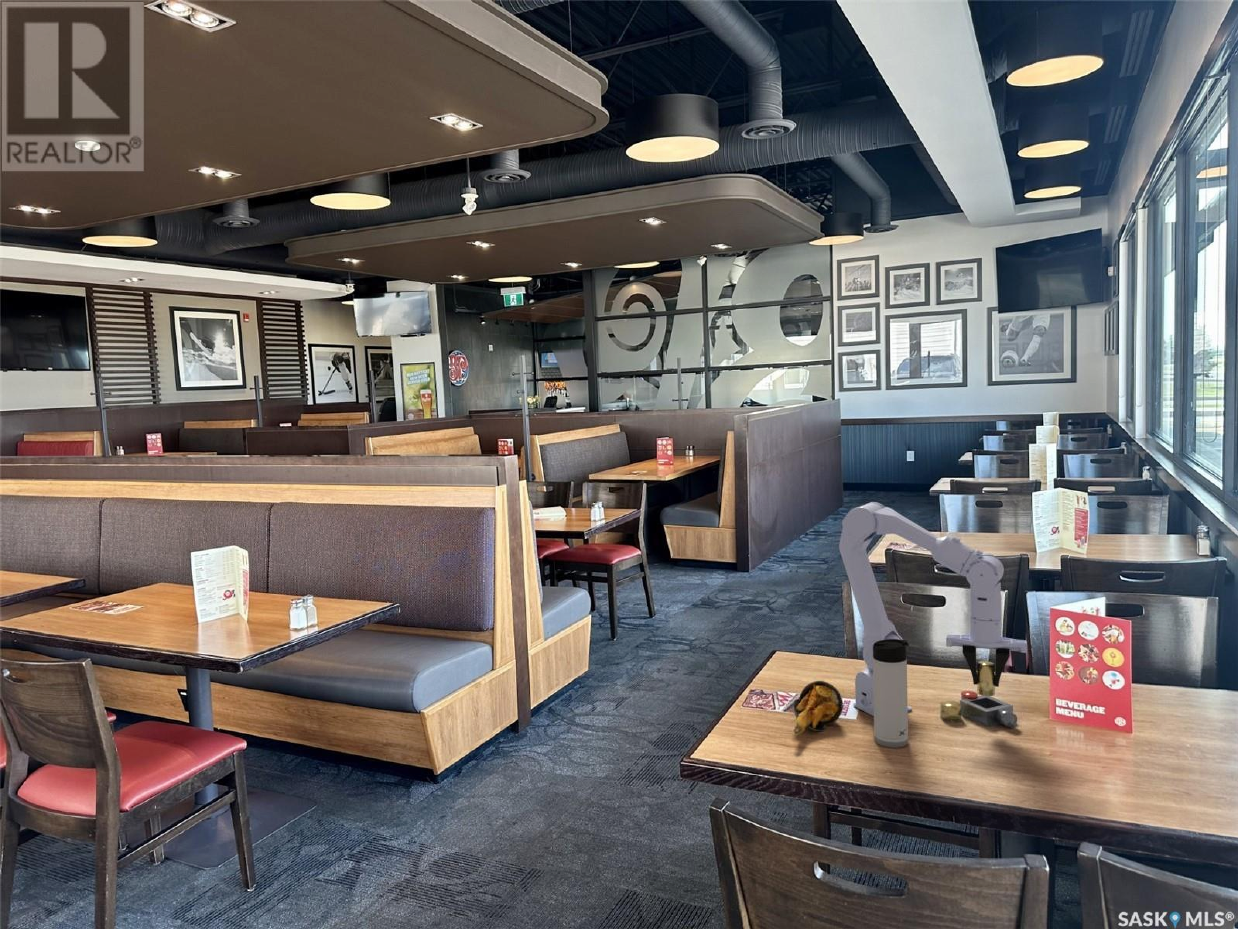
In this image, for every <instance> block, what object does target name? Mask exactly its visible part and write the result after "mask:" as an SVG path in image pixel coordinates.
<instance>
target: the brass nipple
mask: <svg viewBox="0 0 1238 929" xmlns="http://www.w3.org/2000/svg"><path fill="white" fill-rule="evenodd" d="M976 667H977V685H976V687H977V689H976V690H977V691H976V693H977V694H978V695H979V696H982V695H983V696H990V697H993V696H995V695H996V687H995V668H996V663H994V662H992V661H988V660H985V661H984V660H980V661H978V662H977V661H976Z"/></svg>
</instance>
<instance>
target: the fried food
mask: <svg viewBox="0 0 1238 929" xmlns="http://www.w3.org/2000/svg"><path fill="white" fill-rule="evenodd" d="M798 698H799V699H795V700H793V702H792V708H793V713H794V716H795V719H796V721H795V723H794V729H793V733H794V734H795V736H798V735H800V734H802V733H803V732H805V730H806V729H808V730H810V731H814V732H823V731H824V730H825V727H827V726H830V725H832V724H834V723H836V722H837V721H838V720H839V718H840V717H841V715H842V712H843V708H844V701H843V697H842V695H841V693H840V691H839V690H838V689H837V688H836V687H835V686H834V685H833V684H831V683H829V682H828V681H827V682H826V681H824V680H816V681H812V682H810V683H808V684H807V685H805V687H803V689H802V690H801V692H800V694H799V696H798Z"/></svg>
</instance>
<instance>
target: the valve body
mask: <svg viewBox="0 0 1238 929" xmlns="http://www.w3.org/2000/svg"><path fill="white" fill-rule="evenodd" d="M960 697H961V700H959V703H960V704H961V716H962V717H965V718H967V719H969V720H971V721H974V722H976V723H978V724H980V725H983V726H984V727H990V726H995V725H998V724H1001V725H1003V726H1005V727H1008V728H1010V729H1011V728H1014V727H1016V725H1017V723H1018V717H1017V715H1016V714H1015V713H1014V705H1012V704H1010V703H1007V702H1005V701H1004V700H1003V701H1002V700H1000V699H997V698H995V697H993V696H983V695H979V694H978V693H977V691H976V692H975V691H972V690H963V691H961V692H960Z"/></svg>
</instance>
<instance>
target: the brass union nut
mask: <svg viewBox="0 0 1238 929" xmlns="http://www.w3.org/2000/svg"><path fill="white" fill-rule="evenodd" d="M939 705H940V707H939V709H940V712H939V714H940V719H941V720H943V721H944V722H950V723H958V722H961V721H962V715H961V704H960V702H957V701H955V700H954V701H953V700H943V701H940V704H939Z"/></svg>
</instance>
